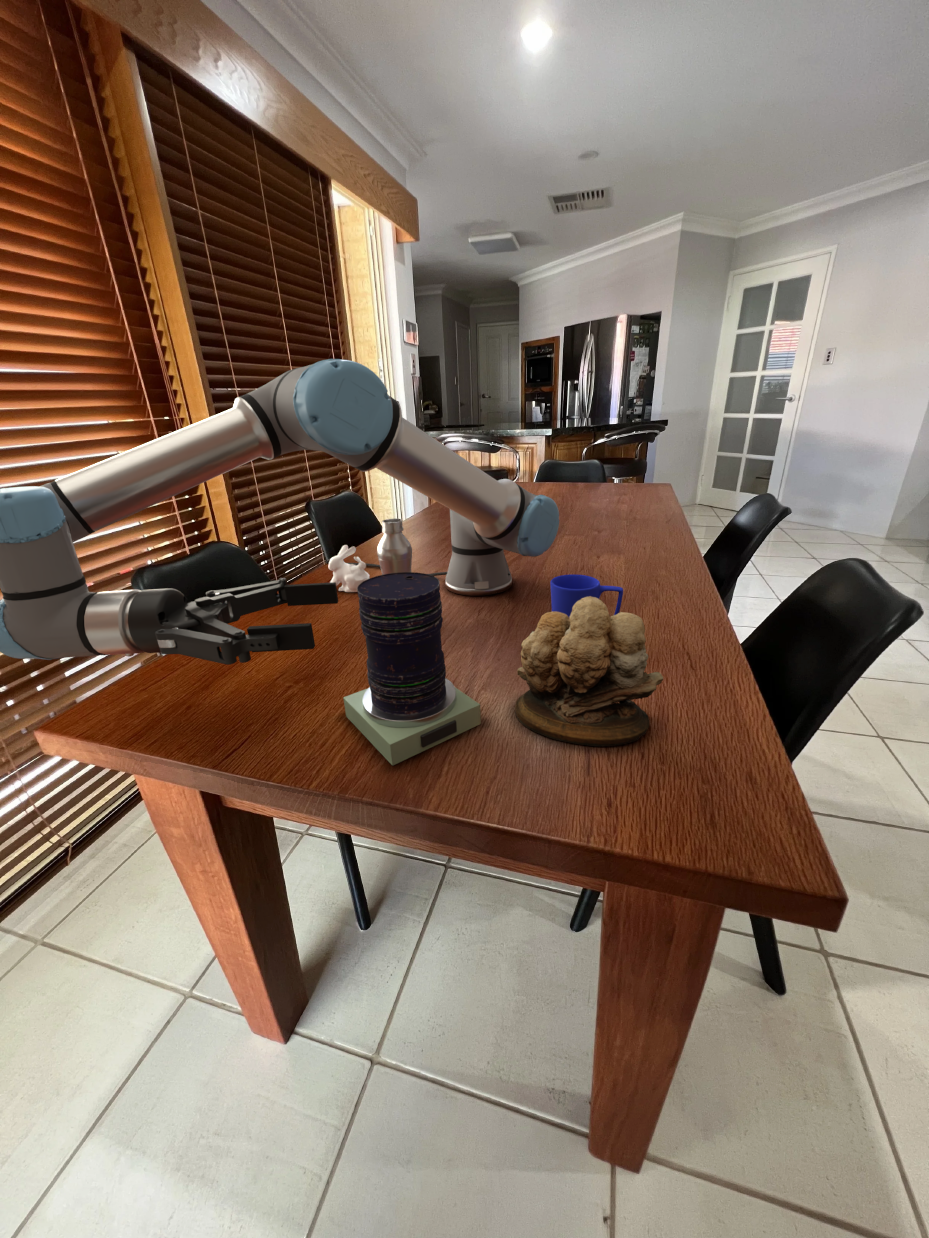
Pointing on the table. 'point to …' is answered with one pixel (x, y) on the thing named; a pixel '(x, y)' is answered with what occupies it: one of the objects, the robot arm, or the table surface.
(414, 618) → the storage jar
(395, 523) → the metal bottle
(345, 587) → the rabbit figurine
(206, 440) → the robot arm
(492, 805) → the table surface
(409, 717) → the weighing pan
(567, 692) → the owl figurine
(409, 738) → the scale
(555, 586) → the mug
